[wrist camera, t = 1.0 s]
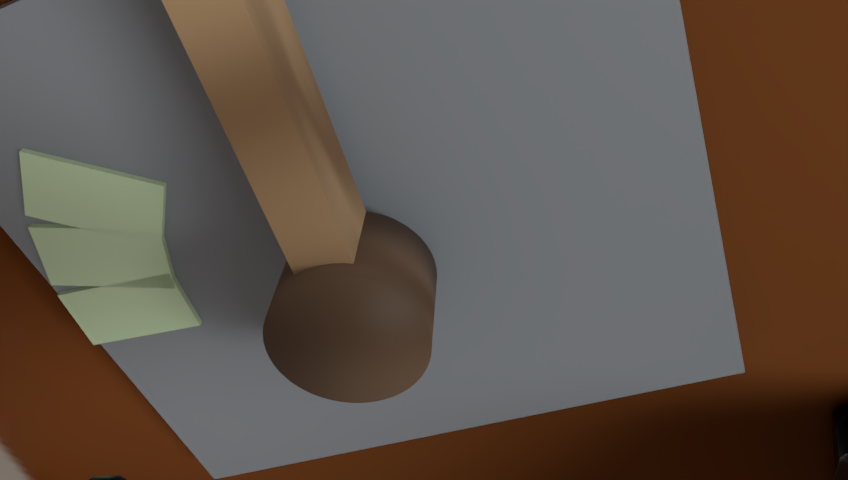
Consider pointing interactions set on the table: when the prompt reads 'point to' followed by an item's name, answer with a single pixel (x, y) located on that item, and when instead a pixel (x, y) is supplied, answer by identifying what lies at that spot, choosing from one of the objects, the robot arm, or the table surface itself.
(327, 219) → the peg lever
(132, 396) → the table surface
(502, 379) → the board
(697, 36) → the table surface
